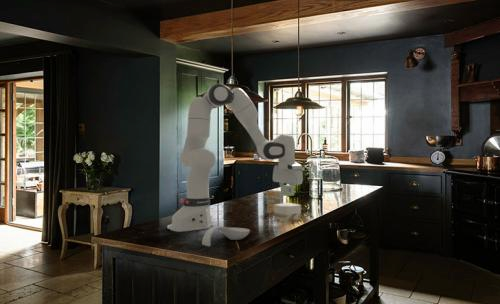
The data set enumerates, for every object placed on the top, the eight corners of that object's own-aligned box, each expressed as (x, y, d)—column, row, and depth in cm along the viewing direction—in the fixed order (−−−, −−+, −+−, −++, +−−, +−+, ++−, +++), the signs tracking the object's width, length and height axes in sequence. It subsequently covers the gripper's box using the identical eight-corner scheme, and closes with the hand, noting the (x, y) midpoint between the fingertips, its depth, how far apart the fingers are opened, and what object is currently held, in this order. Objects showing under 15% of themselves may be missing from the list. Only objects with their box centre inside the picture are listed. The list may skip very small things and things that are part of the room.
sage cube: (287, 196, 215) (286, 186, 215) (280, 195, 219) (280, 185, 219) (294, 195, 218) (294, 185, 218) (287, 194, 222) (287, 184, 222)
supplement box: (267, 213, 236) (266, 190, 236) (270, 212, 241) (270, 189, 240) (280, 214, 232) (280, 191, 232) (283, 213, 237) (283, 190, 236)
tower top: (286, 214, 213) (286, 207, 212) (274, 212, 221) (274, 204, 221) (300, 212, 218) (300, 205, 218) (288, 209, 227) (288, 202, 226)
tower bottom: (286, 222, 213) (286, 215, 213) (273, 219, 221) (273, 212, 221) (300, 220, 219) (300, 212, 218) (288, 217, 227) (288, 209, 226)
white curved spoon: (236, 233, 190) (236, 218, 189) (255, 237, 182) (255, 221, 181) (196, 244, 172) (196, 227, 172) (215, 249, 164) (215, 231, 164)
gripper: (269, 164, 225) (270, 190, 225) (295, 166, 208) (295, 194, 209) (278, 164, 228) (279, 189, 229) (304, 165, 212) (305, 192, 213)
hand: (287, 191), depth 219 cm, fingers closed on sage cube, 5 cm apart
